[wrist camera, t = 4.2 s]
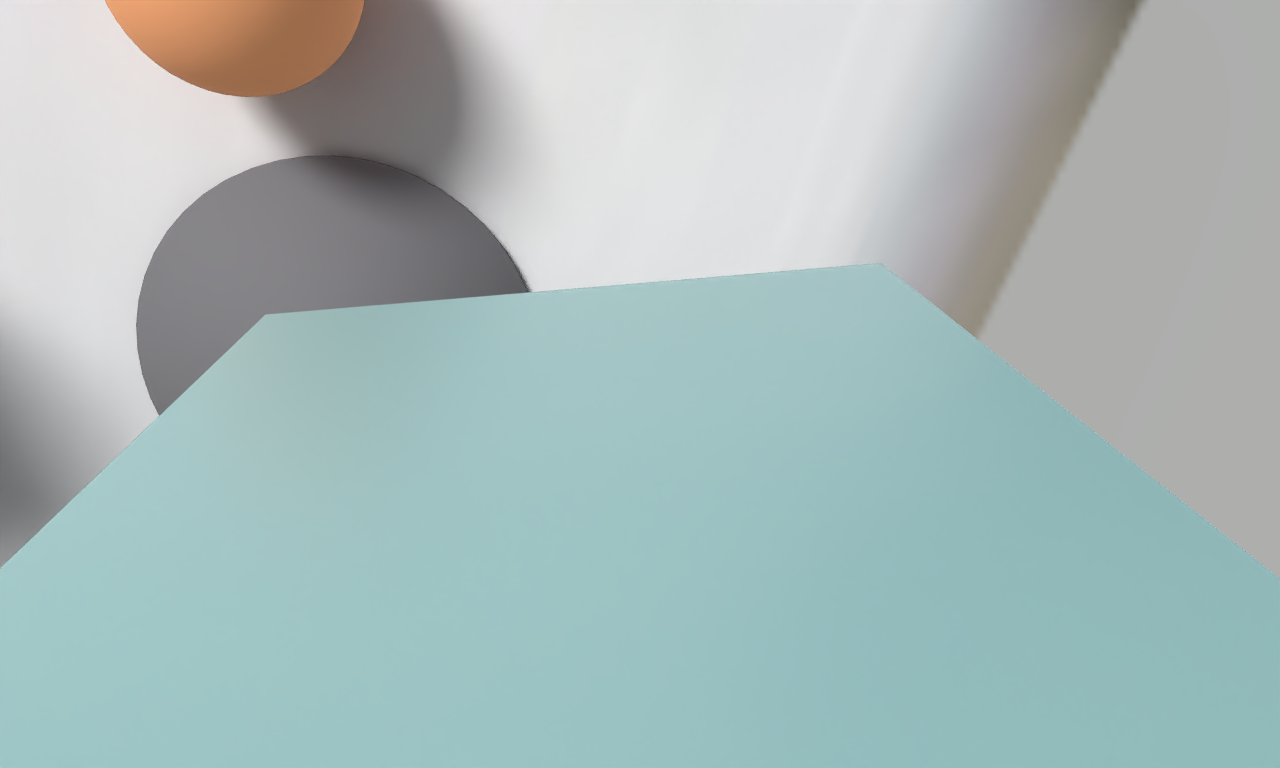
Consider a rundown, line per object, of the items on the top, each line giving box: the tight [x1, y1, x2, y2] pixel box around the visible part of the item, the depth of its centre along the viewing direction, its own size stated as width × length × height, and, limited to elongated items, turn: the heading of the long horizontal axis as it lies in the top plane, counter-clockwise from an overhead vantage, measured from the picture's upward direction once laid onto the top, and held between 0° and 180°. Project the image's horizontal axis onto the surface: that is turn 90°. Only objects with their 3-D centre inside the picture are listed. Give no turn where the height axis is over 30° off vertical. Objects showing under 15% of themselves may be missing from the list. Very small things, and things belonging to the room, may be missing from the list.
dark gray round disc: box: [136, 156, 527, 416], centre depth 24 cm, size 10×10×1 cm
